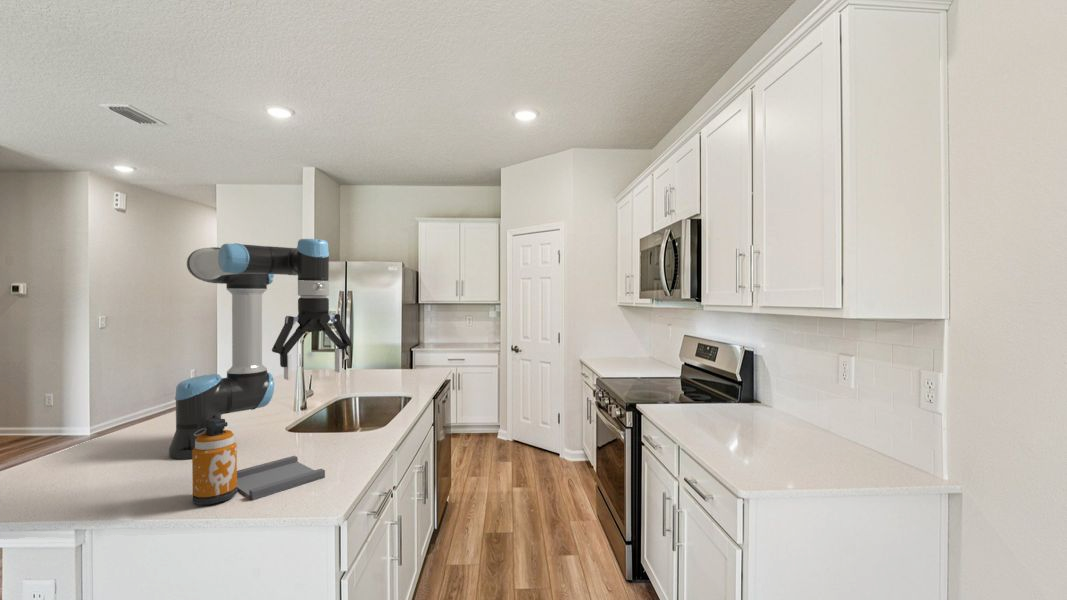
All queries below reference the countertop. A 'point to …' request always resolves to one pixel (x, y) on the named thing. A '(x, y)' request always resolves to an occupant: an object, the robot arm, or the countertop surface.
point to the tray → (275, 477)
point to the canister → (214, 462)
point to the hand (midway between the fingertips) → (314, 375)
